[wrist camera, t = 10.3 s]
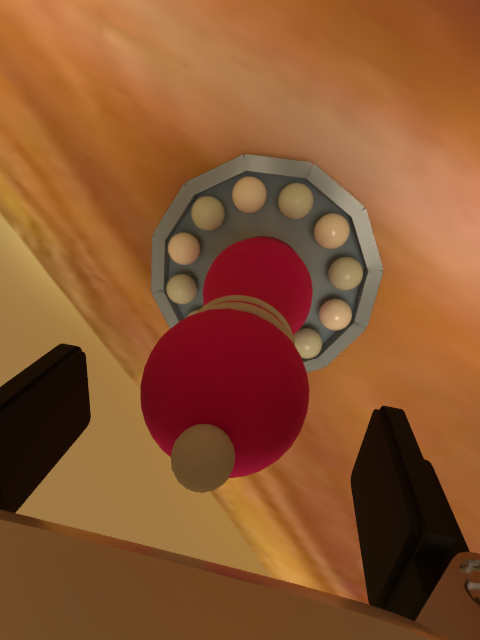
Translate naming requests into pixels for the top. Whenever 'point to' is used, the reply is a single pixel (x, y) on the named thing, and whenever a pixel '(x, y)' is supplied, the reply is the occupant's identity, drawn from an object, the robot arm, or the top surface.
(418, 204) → the top surface
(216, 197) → the bead tray
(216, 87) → the top surface
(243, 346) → the pepper mill
